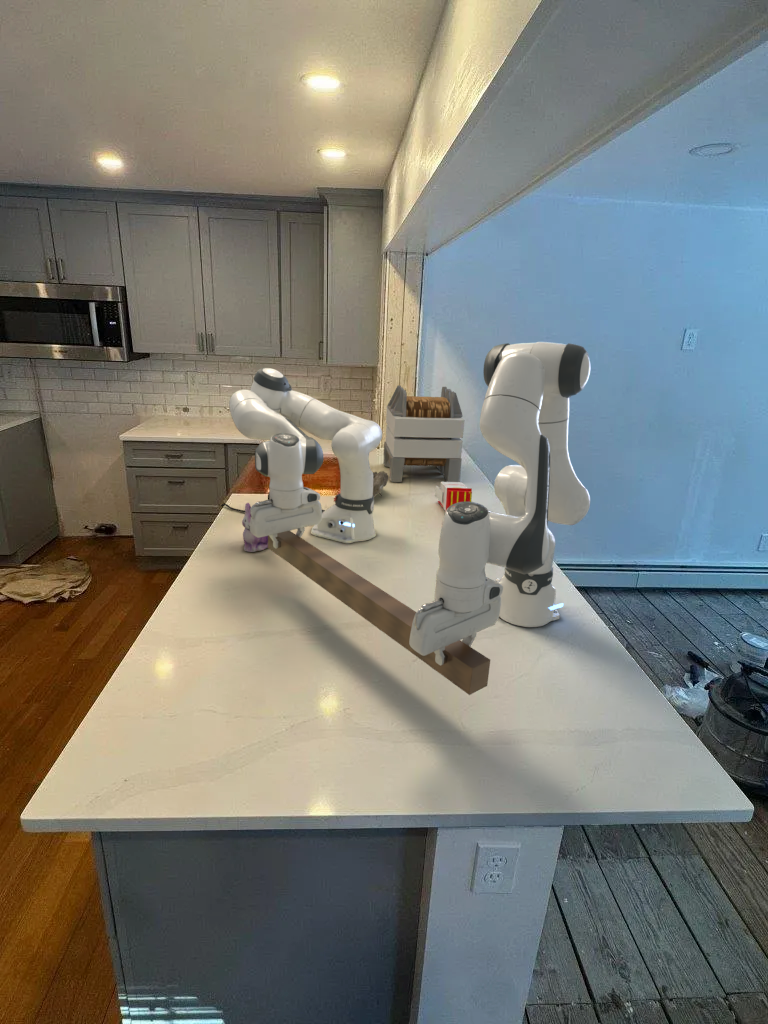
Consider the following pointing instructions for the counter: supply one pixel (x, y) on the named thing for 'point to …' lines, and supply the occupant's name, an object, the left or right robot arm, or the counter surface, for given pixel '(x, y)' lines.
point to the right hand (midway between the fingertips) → (452, 657)
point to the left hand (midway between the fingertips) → (287, 544)
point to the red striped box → (452, 493)
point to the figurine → (249, 539)
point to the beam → (380, 610)
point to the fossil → (379, 482)
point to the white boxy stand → (424, 433)
